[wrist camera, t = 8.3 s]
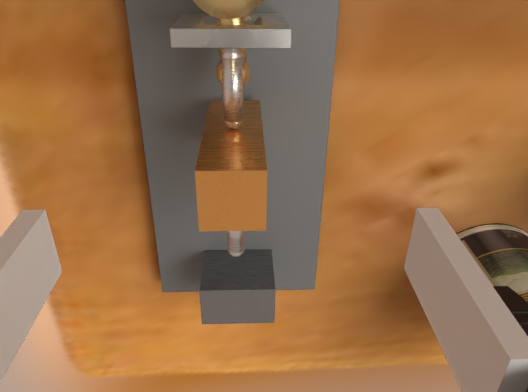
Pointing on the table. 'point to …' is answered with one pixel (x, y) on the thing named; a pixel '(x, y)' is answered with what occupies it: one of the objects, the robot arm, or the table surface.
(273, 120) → the board
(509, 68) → the table surface
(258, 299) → the block
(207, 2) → the brass round knobbed piece
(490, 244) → the coffee can
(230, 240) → the wooden handled lever
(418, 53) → the table surface
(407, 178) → the table surface
